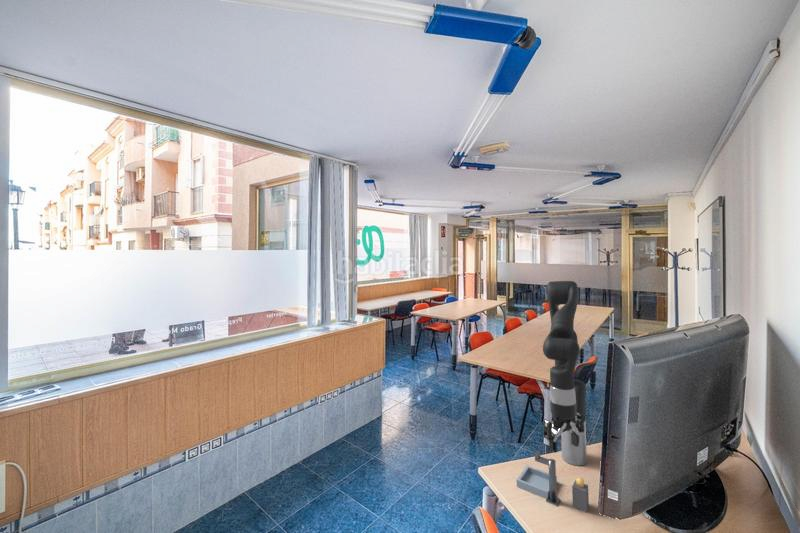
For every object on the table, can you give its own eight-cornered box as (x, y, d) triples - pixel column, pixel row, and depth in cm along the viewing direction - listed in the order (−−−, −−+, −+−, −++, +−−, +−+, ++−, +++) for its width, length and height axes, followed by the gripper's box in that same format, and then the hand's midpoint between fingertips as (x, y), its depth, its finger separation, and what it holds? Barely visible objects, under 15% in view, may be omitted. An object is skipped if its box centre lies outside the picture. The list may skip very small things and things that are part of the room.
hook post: (538, 491, 119) (537, 448, 119) (560, 500, 114) (558, 456, 114) (534, 496, 116) (533, 453, 116) (557, 506, 112) (555, 461, 111)
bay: (527, 471, 130) (526, 465, 130) (556, 482, 123) (556, 476, 123) (516, 486, 122) (516, 479, 122) (548, 499, 115) (547, 492, 115)
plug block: (575, 500, 114) (574, 474, 114) (588, 505, 112) (588, 479, 111) (572, 507, 111) (572, 480, 111) (586, 512, 109) (585, 485, 108)
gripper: (571, 391, 113) (572, 437, 113) (536, 398, 109) (538, 446, 109) (589, 400, 106) (591, 449, 106) (553, 408, 101) (555, 460, 102)
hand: (564, 448), depth 108 cm, fingers open, 8 cm apart
